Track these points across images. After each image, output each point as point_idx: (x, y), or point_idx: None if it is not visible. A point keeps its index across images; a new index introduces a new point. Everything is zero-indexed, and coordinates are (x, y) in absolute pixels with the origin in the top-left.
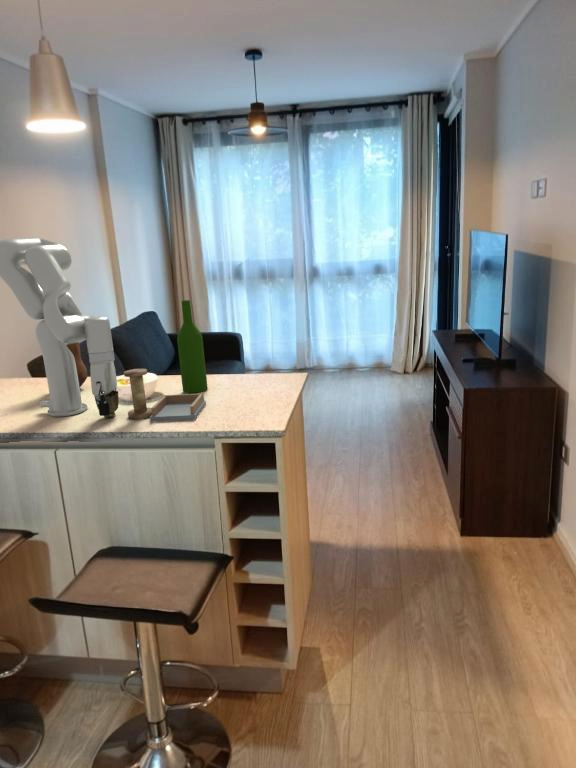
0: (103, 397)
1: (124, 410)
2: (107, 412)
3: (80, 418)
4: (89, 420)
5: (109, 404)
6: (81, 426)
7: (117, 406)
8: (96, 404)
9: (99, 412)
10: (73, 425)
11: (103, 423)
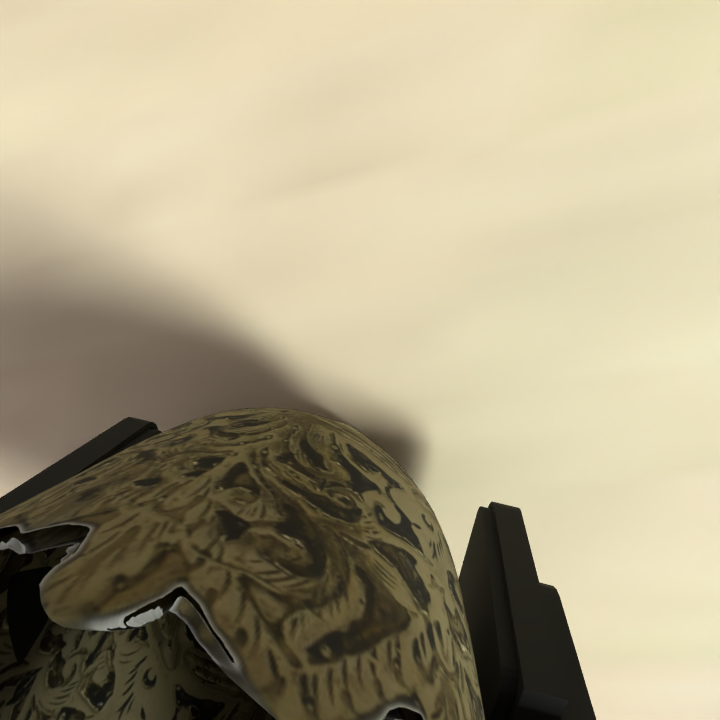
0: (439, 636)
1: (592, 620)
2: None
3: (408, 22)
4: (250, 223)
5: (64, 678)
6: (5, 176)
7: (248, 696)
8: (156, 439)
9: (101, 439)
10: (54, 27)
11: (91, 431)
